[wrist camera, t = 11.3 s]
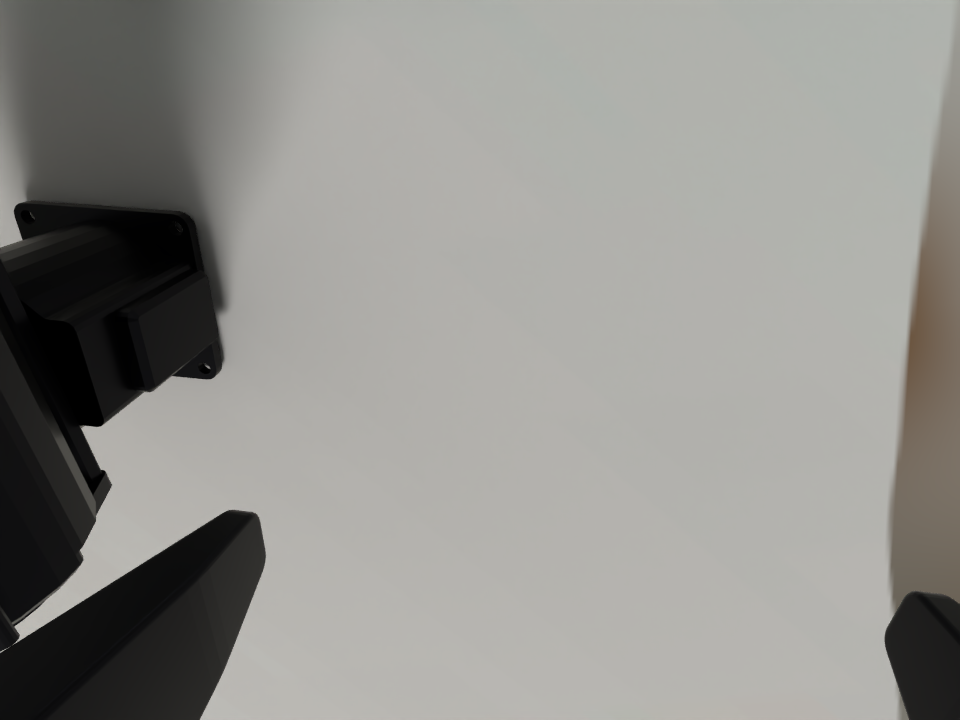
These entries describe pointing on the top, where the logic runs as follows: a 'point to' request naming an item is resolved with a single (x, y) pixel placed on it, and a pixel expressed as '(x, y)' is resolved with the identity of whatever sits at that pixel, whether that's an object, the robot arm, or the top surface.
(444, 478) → the top surface
